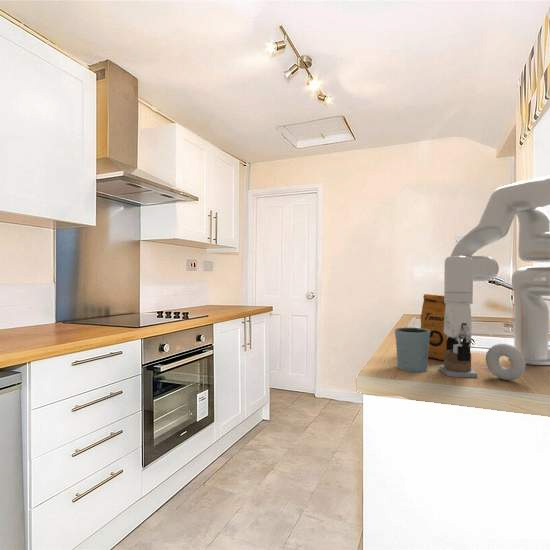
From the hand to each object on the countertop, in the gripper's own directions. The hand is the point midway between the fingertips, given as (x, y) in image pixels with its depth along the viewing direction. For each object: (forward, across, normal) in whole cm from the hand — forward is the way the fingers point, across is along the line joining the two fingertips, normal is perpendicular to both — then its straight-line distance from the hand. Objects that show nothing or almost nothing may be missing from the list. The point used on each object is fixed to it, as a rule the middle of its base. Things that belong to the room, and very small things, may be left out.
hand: (457, 356), depth 112 cm
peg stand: (+5, 0, 0) cm, 5 cm away
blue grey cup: (+5, -4, -12) cm, 14 cm away
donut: (+5, +5, +11) cm, 13 cm away
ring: (+4, 0, 0) cm, 4 cm away
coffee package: (+5, -20, +1) cm, 21 cm away
